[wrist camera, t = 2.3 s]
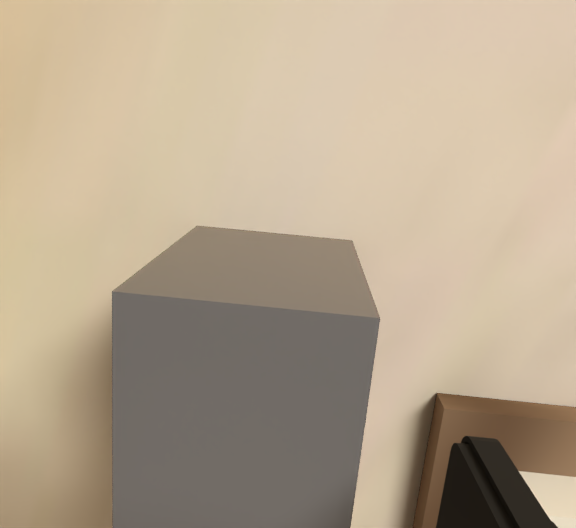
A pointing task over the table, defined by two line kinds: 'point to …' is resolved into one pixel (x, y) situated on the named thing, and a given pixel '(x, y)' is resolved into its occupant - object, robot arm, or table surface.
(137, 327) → the grey rectangular block
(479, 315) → the table surface
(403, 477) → the table surface
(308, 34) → the table surface
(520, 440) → the brown piece
